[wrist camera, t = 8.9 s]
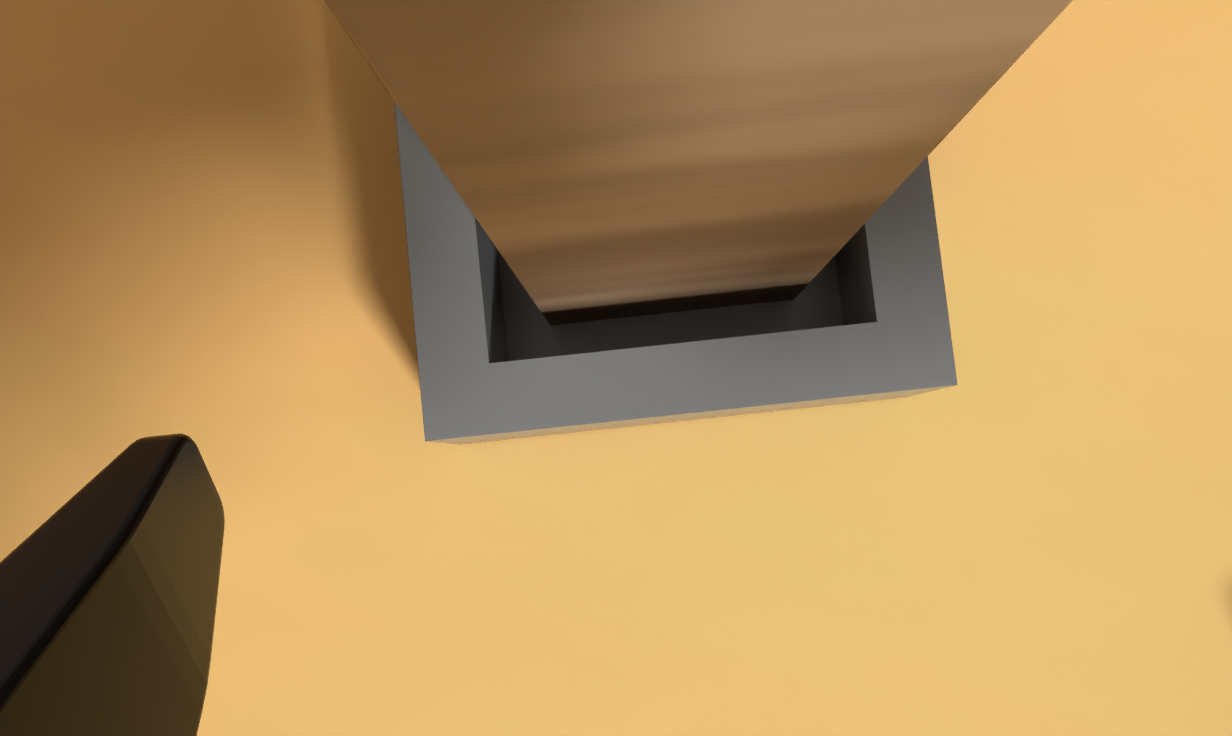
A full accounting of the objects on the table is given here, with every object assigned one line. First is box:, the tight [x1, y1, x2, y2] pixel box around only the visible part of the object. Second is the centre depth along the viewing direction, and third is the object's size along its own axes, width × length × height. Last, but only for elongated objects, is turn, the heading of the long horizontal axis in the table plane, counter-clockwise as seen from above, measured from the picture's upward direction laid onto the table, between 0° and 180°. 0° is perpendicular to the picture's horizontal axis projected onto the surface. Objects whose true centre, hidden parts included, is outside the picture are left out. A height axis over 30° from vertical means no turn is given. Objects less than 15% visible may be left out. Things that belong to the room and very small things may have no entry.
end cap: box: [394, 101, 957, 444], centre depth 18 cm, size 8×8×3 cm
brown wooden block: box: [325, 0, 1072, 325], centre depth 12 cm, size 4×4×14 cm
